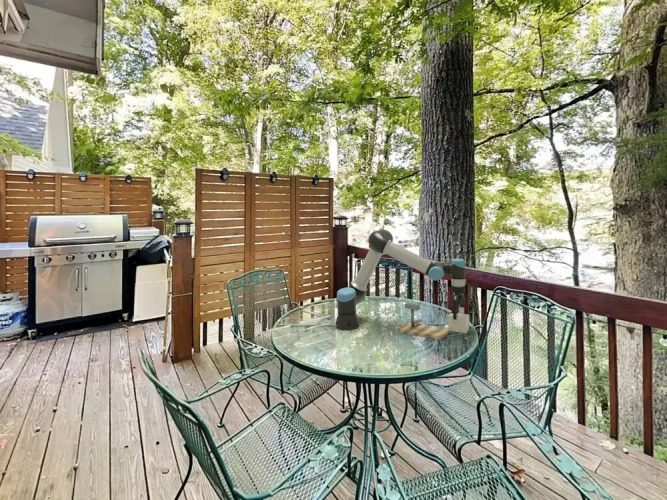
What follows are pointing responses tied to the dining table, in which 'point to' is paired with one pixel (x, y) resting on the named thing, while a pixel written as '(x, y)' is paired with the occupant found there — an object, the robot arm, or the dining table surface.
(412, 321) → the t key
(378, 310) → the dining table surface
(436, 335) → the base plate
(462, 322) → the cream rectangular block
